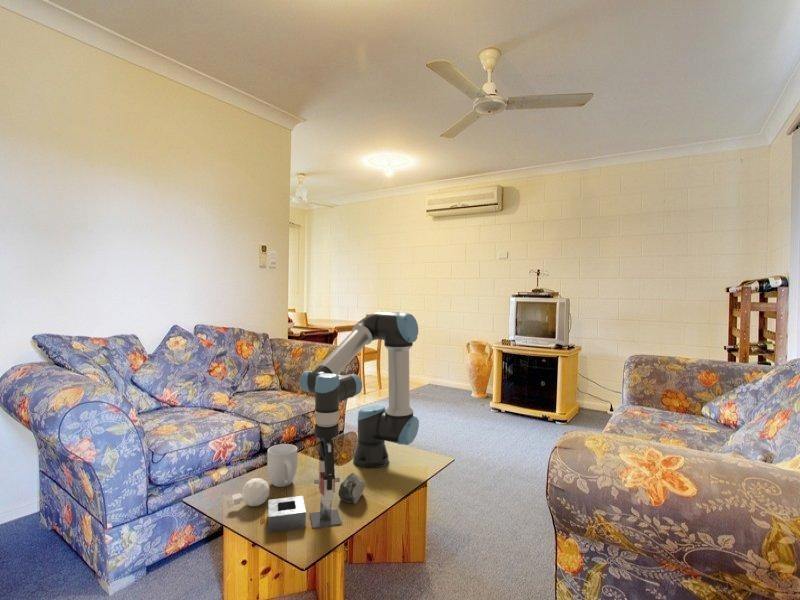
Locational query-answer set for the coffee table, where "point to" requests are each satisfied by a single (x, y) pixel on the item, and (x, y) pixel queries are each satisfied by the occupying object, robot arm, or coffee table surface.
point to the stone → (351, 488)
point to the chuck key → (324, 504)
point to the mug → (282, 464)
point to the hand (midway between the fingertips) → (325, 489)
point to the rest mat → (319, 523)
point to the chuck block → (286, 514)
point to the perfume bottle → (253, 493)
